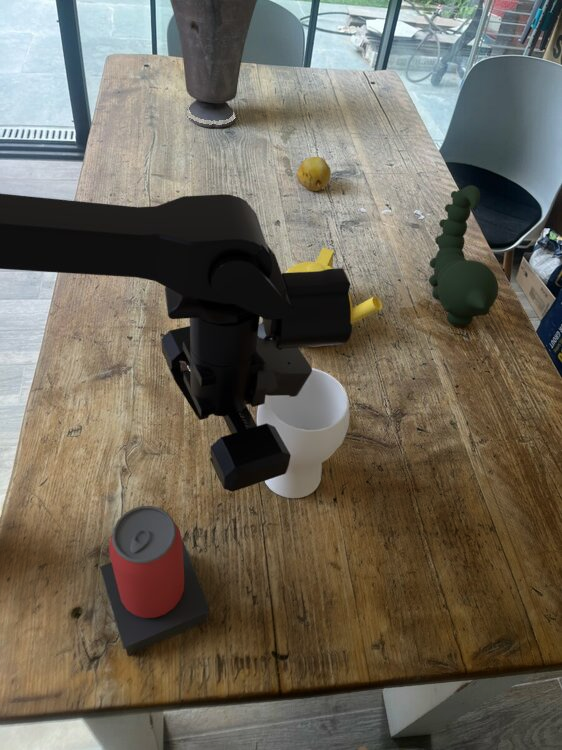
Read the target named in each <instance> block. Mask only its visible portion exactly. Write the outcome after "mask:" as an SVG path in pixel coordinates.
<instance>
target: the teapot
mask: <svg viewBox="0 0 562 750" xmlns="http://www.w3.org/2000/svg"><path fill="white" fill-rule="evenodd" d="M334 254H335V250H332V249H329V248H326V247H322V248H321V251H320V252H319V254H318V255H317V258H316V260H315V261H303V262H300V263H296V264H295V265H292V266H291V267H289V269H287V270H286V271H285V272H284V273H292V272H314V271H323V270H327V269H334V268H333V263H334ZM348 294H349V300H350V309H351V325H353V324H355V323H357V322H358V321H361V320H363V319H365V318H367V317H369V316H371V315H373V314H375V313H377V312H379V311H381V310H383V302H382V301H381V299H380V298H379V297H378V296H376V295H375V296H372V297H370V298H369V299H367V300H365V301H363V302H361V303H359V304H357V305H356V306H354V307H353V301H352V296H351V294H350V291H349V292H348ZM317 347H319V346H312V347H311V348H317Z"/></svg>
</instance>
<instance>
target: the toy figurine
mask: <svg viewBox="0 0 562 750" xmlns="http://www.w3.org/2000/svg"><path fill="white" fill-rule="evenodd" d="M450 198H451V200H452V203H451V204H450V203H447V204H446V205H444V211H445V212H446V214H447V218H446V219H445V218H442V219H441V220H439V223H438V225H439V227H440V228H442V233H441V234H440V235H437V236H436V238H435V244H436V245H437V247H438V251H437V253H436V255H435V257H432V258H431V260H429V266H430V268H431V269H433V274H432V275H431V276H430V277H429V279H428V281H429V282H428V283H429V284H430V286H432V287H433V290H432V292H431V294H432V297H433V298H434V299H435V300H439V302H440V304H441V307H443V310H444V311H445V312H446V313H447V315H446V320H447V322H448V324H449V325H451V326H453V327H458V328H461V327H462V328H463V327H467V326H469V325H471V324H472V322H473V320H474V318H476V317H479V316H487V315H488V314H489V313H490V309H491V308H492V307H493V305H494V304H495V302H496V300H497V298H498V294H499V282H498V279H497V276H496V274H495V272H494V271H492V269H491V268H490V267H489V266H487V264H485V263H483V262H480V261H478V260H473V259H470V260H469V259H466V258H465V252H464V251H463V249H464V247H465V243H466V242H465V234H466V233H467V229H468V224H467V221H468V220H469V218H470V217H471V213H472V212H471V209H472V210H473V211H475V210H477V208H478V206H479V203H480V199H481V192H480V189H479V188H478V187H477V186H475V185H467V186H465V187H464V188H461V189H459V190H457V191H456V190H453V191H452V192H451V193H450Z"/></svg>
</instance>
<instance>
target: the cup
mask: <svg viewBox="0 0 562 750" xmlns="http://www.w3.org/2000/svg"><path fill="white" fill-rule="evenodd" d="M311 368H312V367H311ZM350 417H351V413H350V401H349V397H348V393H347V391H346V390H345V387H344V386H343V385H342V384H341V383H340V382H339V380H337V378H336V377H334V376H332V375H330V373H327V372H325V371H323V370H320V369H317V368H312V372H311V374H310V376H309V377H308V379H307V381H306V382H305V384H304V386H303V387H302V389H301V391H300V392H299V394H298V395H297V396H295V397H290V396H289V395H279V396H268V395H266V396H265V403H264V404H262V405H258V406H257V412H256V425H257V426H260V425H263V424H266V423H267V424H269V425H272V426H274V427H275V428H276V430H277V431H278V433H279V435H280V437H281V439H282V440H283V442H284V444H285V446H286V447H287V449H288V451H289V453H290V455H291V457H290V462H289V466H288V469H287V471H286V474H283V475H280V476H278V477H275V478H272V479H269V480H266V481H264V483H265V485H266V486H267V487H268V488H269V489H270V490H271V491H272V492H273V493H274V494H276V495H279V496H281V497H283V498H287V499H300V498H304V497H307V496H309V495H311V494H313V493H314V492H315V491H316V490H317V488H318V487H319V485H320V483H321V481H322V471H323V468H322V467H323V464H322V463H324V462H326V461H327V460H329V459H330V458H331V457H332V455H333V454H334V453H335V452H336V451H337V450H338V449H339V448H340V447H341V445H342V444H343V442H344V440H345V438H346V436H347V432H348V429H349V426H350Z"/></svg>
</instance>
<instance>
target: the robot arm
mask: <svg viewBox="0 0 562 750" xmlns="http://www.w3.org/2000/svg"><path fill="white" fill-rule="evenodd" d="M0 270H7V271H9V270H10V271H23V272H24V271H26V272H41V273H42V272H43V273H59V274H75V275H88V276H89V275H90V276H91V275H92V276H107V277H120V278H121V277H123V278H138V279H143V280H147V281H153V282H155V283H158V284H160V285H161V286H163V287H164V294H165V303H166V311H167V316H168V318H169V319H171V320H181V319H183V320H185V319H189V326H188V325H187V326H183V327H178V328H174V329H169V330H168V332H166V333H165V335H163V337H161V339H160V340H161V353H162V355H163V357H164V359H165V362H166V365H167V367H168V369H169V371H170V374H171V376H172V379H173V380H174V382H175V384H176V385H177V387H178V389H179V390H180V391H181V393H182V395H183V396H184V398H185V400H186V402H187V403H188V404H189V406H190V408H191V410H192V411H193V412H194V414H195V416H196V417H197V419H198V420H199V421H202V420H205V419H206V420H207V419H208V418H209V417H210V416H211V415H214V416H215V417H222V418H223V420H224V422H225V424H226V426H227V429H228V430H229V432H230V434H227V435H226V434H225V435H223V436H220V437H219V438H218V439H217V440H216V441H215V442H214V443H213V444H211V445H210V452H209V453H210V458H209V460H210V462H211V464H212V467H213V470H214V472H215V474H216V476H217V478H218V480H219V482H220V484H221V485H222V487H223V490H227V491H229V492H232V493H233V492H237V491H239V490H242V489H245V488H249V487H251V486H254V485H257V484H260V483H263V482H265V481H266V480H269V479H272V478H275V477H278V476H280V475H283V474H286V471H287V469H288V466H289V462H290V457H291V455H290V453H289V451H288V449H287V447H286V446H285V444H284V442H283V440H282V439H281V437H280V435H279V433H278V431H277V430H276V428H275V427H274V426H272V425H269V424H267V423H266V424H263V425H260V426H257V422H256V420H255V419H254V417H253V416H252V414H251V412H250V409H249V407H248V406H247V405H250V406H251V407H252V408H254V407H258V405H262V404H264V403H265V396H266V395H268V396H279V395H289V396H290V397H295V396H297V395H298V394H299V392H300V391H301V389H302V387H303V386H304V384H305V382H306V381H307V379H308V377H309V376H310V374H311V372H312V366H311V365H310V363H309V362H308V360H307V358H306V357H305V355H304V354H303V353H302V351H301V349H300V348H313V347H312V346H318V347H323V346H324V347H325V346H337V345H345V344H347V343H348V341H349V340H350V338H351V336H352V335H351V334H352V332H353V324H351V309H350V300H349V294H350V288H351V281H350V280H349V277H348V274H347V273H346V271H345V269H344V268H343V267H340V268H333V269H327V270H323V271H314V272H292V273H285V272H282V271H281V269H280V265H279V263H278V259H277V257H276V254H275V253H274V251H273V250H272V248H271V247H270V246H269V245H268V244H267V242H266V239H265V236H264V233H263V230H262V227H261V223H260V221H259V217H258V215H257V213H256V211H255V210H254V209H253V208H252V206H251V205H250V204H249V203H248V201H247V200H246V199H243V198H242V197H240V196H236V195H233V194H224V193H222V194H221V193H220V194H202V195H201V194H200V195H186V196H185V195H184V196H183V195H182V196H180V197H178V198H174V199H172V200H170V201H166V202H165V203H161V204H159V205H153V206H152V205H151V206H130V205H120V204H110V203H100V202H92V201H91V202H90V201H79V200H72V199H71V200H70V199H60V198H52V197H51V198H50V197H41V196H29V195H19V194H10V193H0ZM348 292H349V294H348ZM260 318H262V322H261V323H260Z"/></svg>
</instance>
